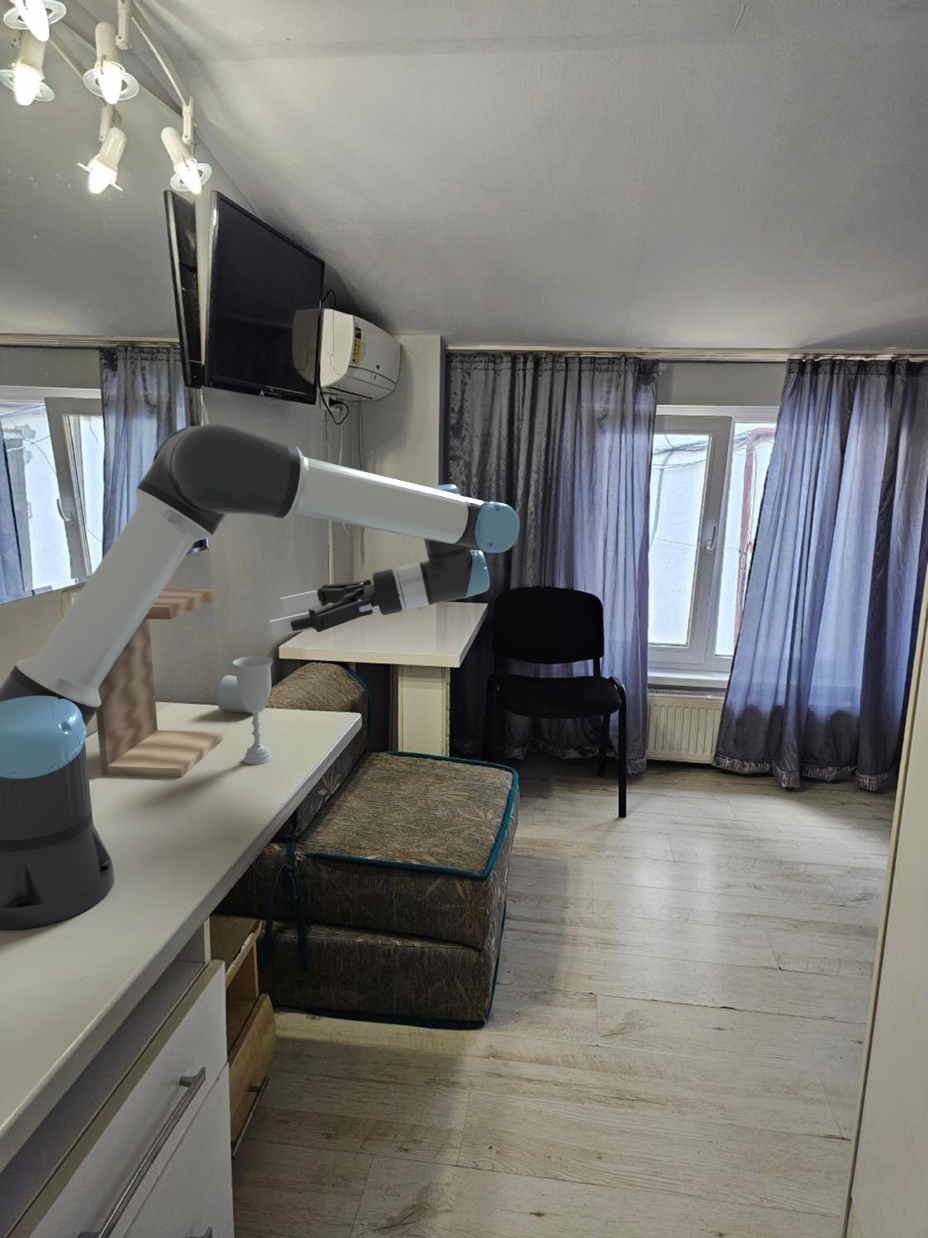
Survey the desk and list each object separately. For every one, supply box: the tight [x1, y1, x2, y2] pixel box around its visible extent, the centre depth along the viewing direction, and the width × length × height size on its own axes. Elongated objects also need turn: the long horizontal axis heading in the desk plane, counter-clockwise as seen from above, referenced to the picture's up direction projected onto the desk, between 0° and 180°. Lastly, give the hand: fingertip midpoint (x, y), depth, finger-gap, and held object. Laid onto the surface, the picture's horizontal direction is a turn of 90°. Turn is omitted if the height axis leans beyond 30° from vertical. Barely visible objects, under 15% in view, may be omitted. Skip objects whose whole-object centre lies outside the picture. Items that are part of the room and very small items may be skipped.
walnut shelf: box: [95, 588, 224, 778], centre depth 135 cm, size 18×14×29 cm
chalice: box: [232, 655, 274, 765], centre depth 135 cm, size 7×7×18 cm
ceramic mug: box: [216, 674, 252, 714], centre depth 164 cm, size 11×8×8 cm
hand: (277, 616), depth 130 cm, fingers open, 13 cm apart
